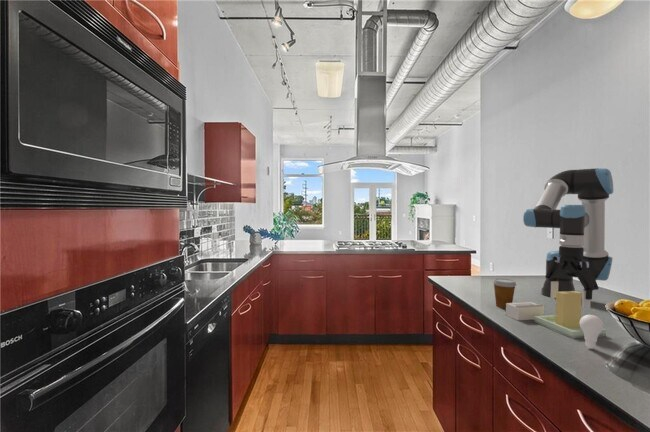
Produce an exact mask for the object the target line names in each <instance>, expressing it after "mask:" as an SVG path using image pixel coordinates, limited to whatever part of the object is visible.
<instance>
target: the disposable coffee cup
mask: <svg viewBox="0 0 650 432" xmlns="http://www.w3.org/2000/svg"><path fill="white" fill-rule="evenodd" d="M492 283H493V289H494V296H495V298H494V299H495V305H496V307H498V308H501V309H506V303H514V302H513V300H514V295H515V289H516V286H517V283H516V280H514V279H510V278H501V277H497V278H496V277H495V278H494V279H493V281H492Z"/></svg>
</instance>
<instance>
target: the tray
mask: <svg viewBox="0 0 650 432" xmlns="http://www.w3.org/2000/svg"><path fill="white" fill-rule="evenodd" d="M555 322H556V314H553V315H549V314H548V315H544V316H535V319H534V323H535V324H538V325H540V326H542V327H544V328H546V329H550V330H552V331H554V332H556V333H559V334H561V335H563V336H566V337H568V338H569V339H585V336H584V332H583V330H582V329H581V327H580V328H566V327H563V326H561V325H558V324H556V323H555ZM606 336H607V329H606V328H604V327H603V330H602V331H601V333H600V334H599V335H598V338H599V337H600V338H601V337H606Z"/></svg>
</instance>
